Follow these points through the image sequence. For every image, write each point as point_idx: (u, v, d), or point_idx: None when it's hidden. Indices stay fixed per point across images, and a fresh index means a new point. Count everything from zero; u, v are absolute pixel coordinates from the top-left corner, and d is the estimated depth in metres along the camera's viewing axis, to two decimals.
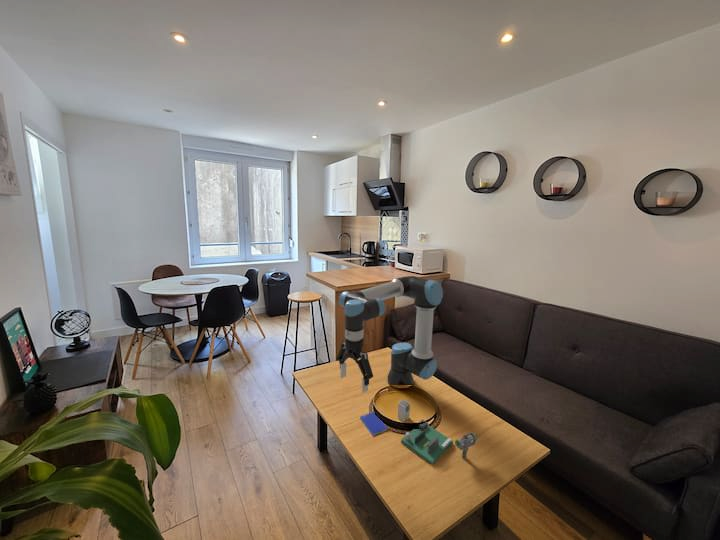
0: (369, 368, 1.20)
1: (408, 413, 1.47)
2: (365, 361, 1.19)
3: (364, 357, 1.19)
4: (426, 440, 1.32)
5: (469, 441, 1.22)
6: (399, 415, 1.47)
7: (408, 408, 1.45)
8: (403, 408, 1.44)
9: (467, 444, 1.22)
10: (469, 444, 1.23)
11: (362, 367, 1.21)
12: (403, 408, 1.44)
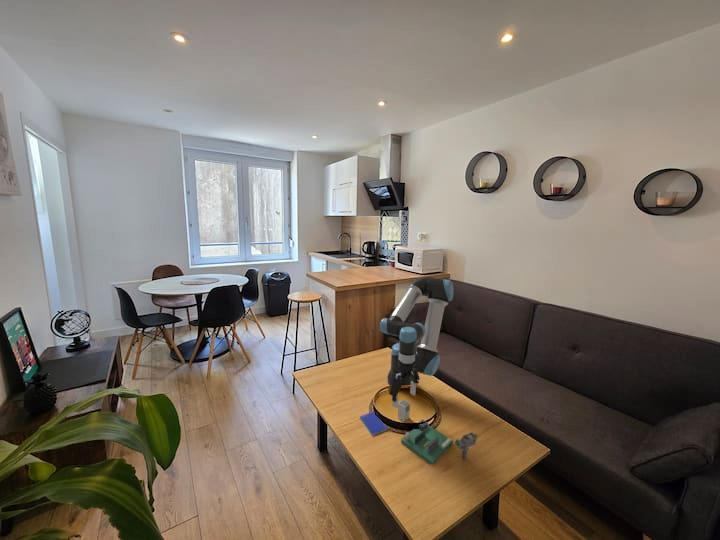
0: (394, 387, 1.37)
1: (408, 413, 1.47)
2: (395, 380, 1.38)
3: (395, 376, 1.38)
4: (426, 440, 1.32)
5: (469, 441, 1.22)
6: (399, 415, 1.47)
7: (408, 408, 1.45)
8: (403, 408, 1.44)
9: (467, 444, 1.22)
10: (469, 444, 1.23)
11: None
12: (403, 408, 1.44)
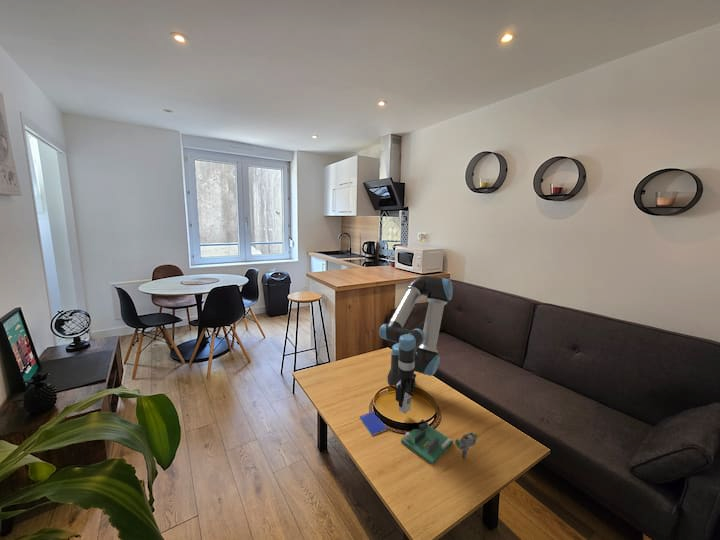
0: (398, 395, 1.41)
1: (409, 405, 1.46)
2: (396, 389, 1.40)
3: (395, 386, 1.40)
4: (426, 440, 1.32)
5: (469, 441, 1.22)
6: None
7: (409, 400, 1.44)
8: (404, 400, 1.44)
9: (467, 444, 1.22)
10: (469, 444, 1.23)
11: None
12: (404, 400, 1.44)
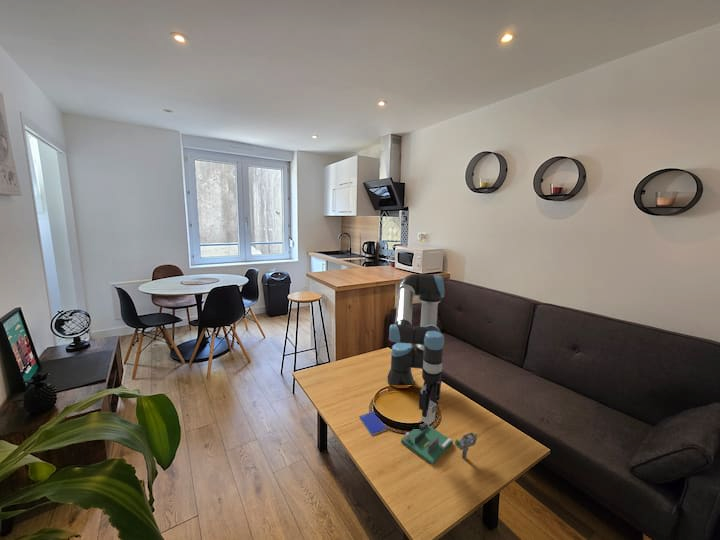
0: (422, 403, 1.20)
1: (434, 415, 1.26)
2: (421, 395, 1.20)
3: (420, 391, 1.20)
4: (426, 440, 1.32)
5: (469, 441, 1.22)
6: None
7: (434, 409, 1.24)
8: None
9: (467, 444, 1.22)
10: (469, 444, 1.23)
11: None
12: (429, 409, 1.23)
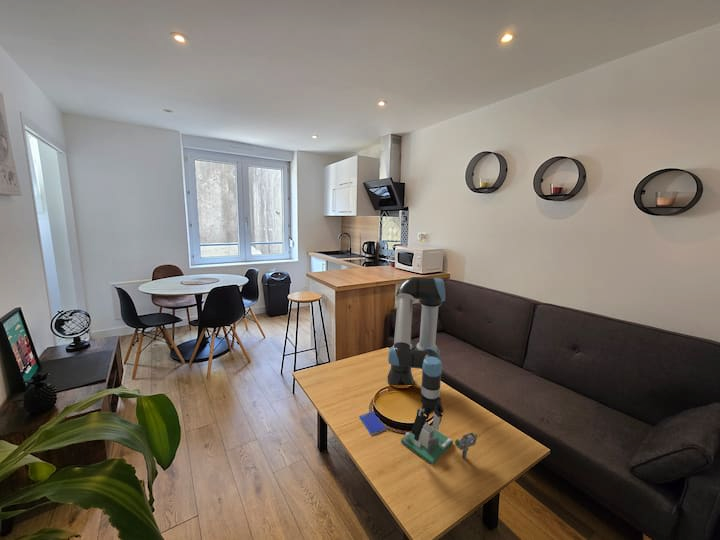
0: (417, 426, 1.21)
1: (432, 439, 1.29)
2: (417, 417, 1.22)
3: (418, 412, 1.22)
4: None
5: (469, 441, 1.22)
6: (421, 441, 1.29)
7: (432, 434, 1.27)
8: (426, 434, 1.27)
9: (467, 444, 1.22)
10: (469, 444, 1.23)
11: None
12: (427, 434, 1.26)
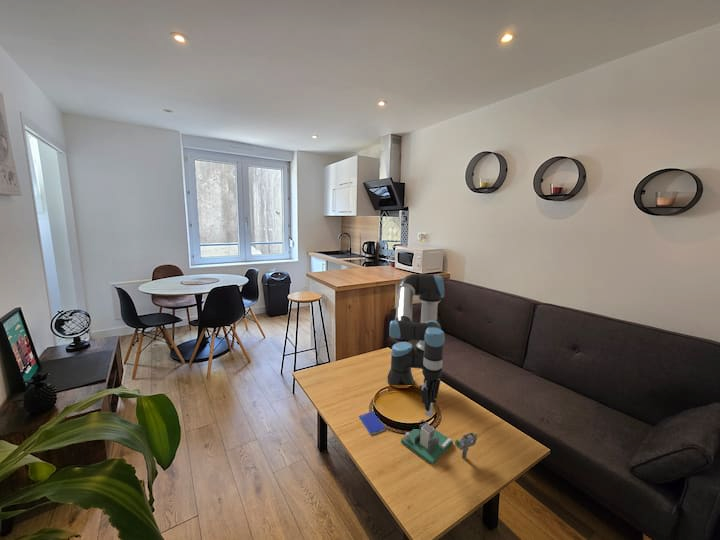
0: (424, 398, 1.21)
1: (432, 439, 1.29)
2: (422, 391, 1.21)
3: (421, 389, 1.20)
4: None
5: (469, 441, 1.22)
6: (421, 441, 1.29)
7: (432, 434, 1.27)
8: (426, 434, 1.27)
9: (467, 444, 1.22)
10: (469, 444, 1.23)
11: None
12: (427, 434, 1.26)
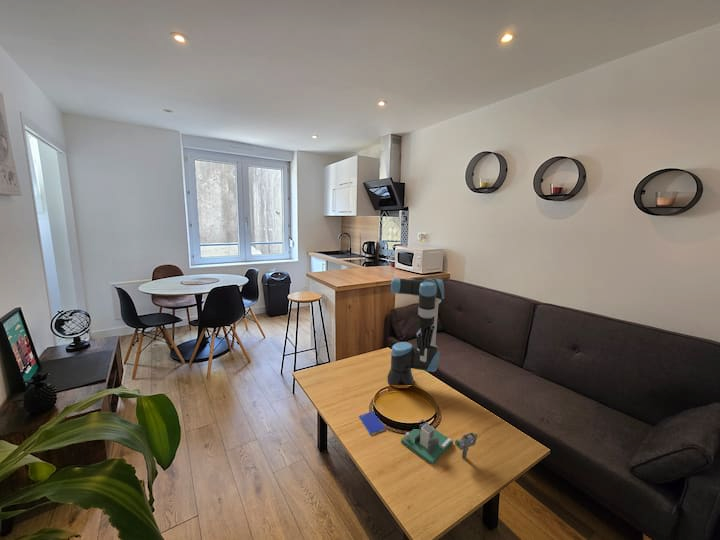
0: (419, 343, 1.39)
1: (432, 439, 1.29)
2: (417, 337, 1.39)
3: (416, 335, 1.38)
4: None
5: (469, 441, 1.22)
6: (421, 441, 1.29)
7: (432, 434, 1.27)
8: (426, 434, 1.27)
9: (467, 444, 1.22)
10: (469, 444, 1.23)
11: None
12: (427, 434, 1.26)
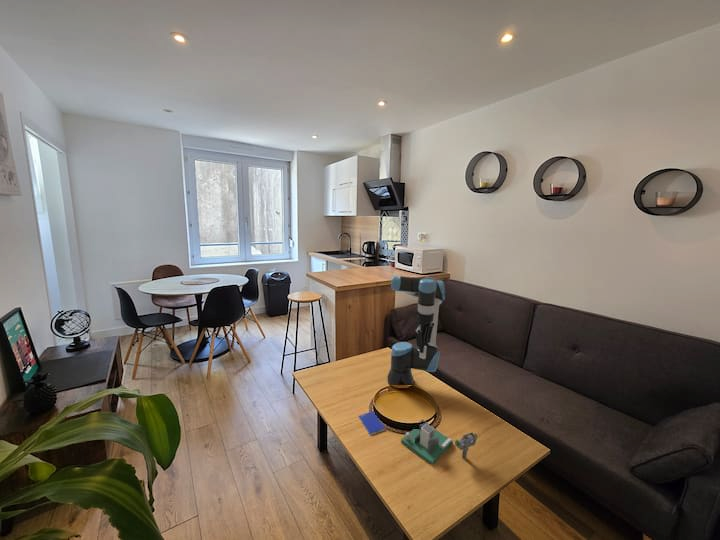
0: (419, 340, 1.41)
1: (432, 439, 1.29)
2: (417, 334, 1.40)
3: (415, 331, 1.39)
4: None
5: (469, 441, 1.22)
6: (421, 441, 1.29)
7: (432, 434, 1.27)
8: (426, 434, 1.27)
9: (467, 444, 1.22)
10: (469, 444, 1.23)
11: None
12: (427, 434, 1.26)
